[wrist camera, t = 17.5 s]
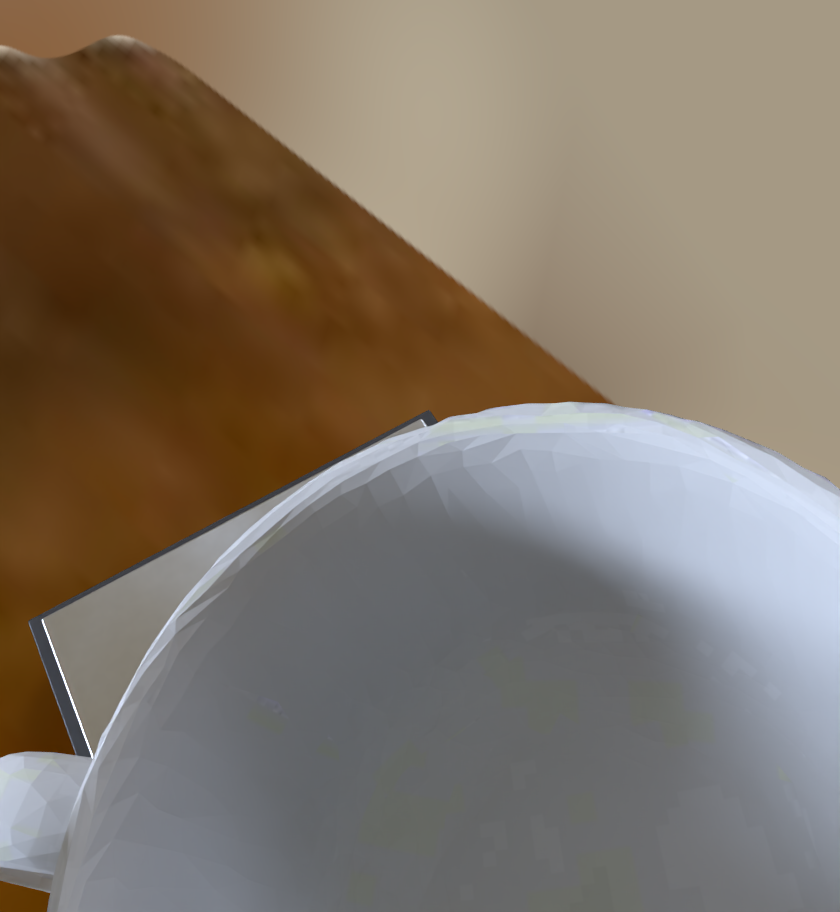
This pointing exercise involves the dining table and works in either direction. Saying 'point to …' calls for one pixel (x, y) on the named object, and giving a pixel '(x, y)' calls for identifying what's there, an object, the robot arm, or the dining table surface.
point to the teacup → (479, 691)
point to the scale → (141, 612)
